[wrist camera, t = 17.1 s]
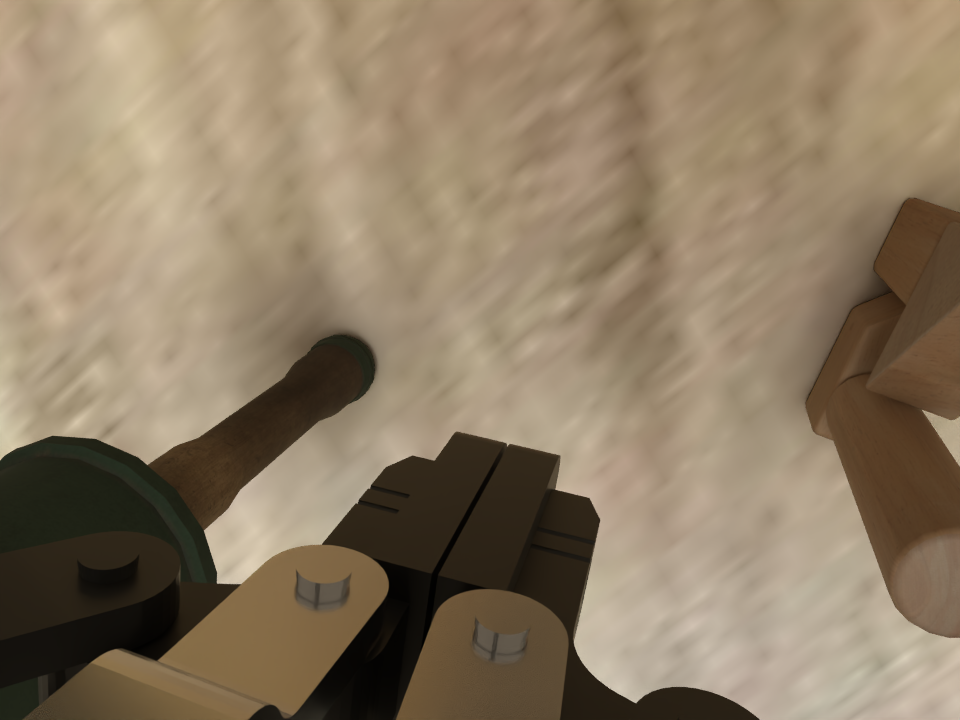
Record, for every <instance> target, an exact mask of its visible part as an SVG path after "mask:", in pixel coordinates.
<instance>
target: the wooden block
mask: <svg viewBox="0 0 960 720" xmlns="http://www.w3.org/2000/svg"><path fill="white" fill-rule="evenodd" d="M874 271H875V272H876V273H877V274H878V275H879V276H880V277H881V278H882V279H883V280H884V282H885V283H886V284H887V285H888V286H889V287H890V288H891V289H892V290H893V291H894V292H891V293H889V294H886V295H883V296H881V297H878V298H876V299H873V300H871V301H868V302H866V303H863V304H861V305H858V306H856V307H855V308H854V309H853V310H852V311H851V313H850V315H849V317H848V319H847V321H846V323H845V325H844V327H843V329H842V331H841V333H840V335H839V337H838V339H837V341H836V343H835V345H834V347H833V349H832V351H831V353H830V355H829V357H828V359H827V361H826V363H825V365H824V367H823V369H822V371H821V373H820V375H819V377H818V379H817V382H816V384H815V386H814V388H813V390H812V392H811V394H810V396H809V398H808V400H807V402H806V410H807V413H808V417H809V420H810V423H811V426H812V429H813V431H814V432H815V433H816V434H817V435H820V436H823V437H825V438H828V439H831V440H833V441H834V443H835V446H836V448H837V451H838V454H839V457H840V459H841V462H842V465H843V468H844V471H845V473H846V476H847V479H848V482H849V484H850V487H851V490H852V493H853V495H854V498H855V501H856V504H857V506H858V509H859V512H860V515H861V517H862V520H863V523H864V526H865V529H866V531H867V534H868V537H869V540H870V542H871V545H872V548H873V551H874V553H875V556H876V559H877V562H878V564H879V567H880V570H881V573H882V575H883V578H884V581H885V584H886V587H887V589H888V592H889V594H890V596H891V599H892V601H893V603H894V605H895V607H896V608H897V610H898V611H899V612H900V613H901V614H902V615H903V616H904V617H905V618H906V619H907V620H908V621H910V622H911V623H913V624H915V625H916V626H918V627H920V628H922V629H923V630H925V631H927V632H929V633H932V634H936V635H940V636H944V637H948V638H960V467H959V465H958V464H957V462H956V461H955V459H954V458H953V456H952V455H951V453H950V452H949V450H948V449H947V447H946V446H945V444H944V443H943V441H942V440H941V438H940V437H939V435H938V434H937V432H936V431H935V429H934V428H933V426H932V425H931V423H930V422H929V420H928V419H927V417H926V416H925V414H924V413H923V411H922V410H925V411H927V412H930V413H933V414H936V415H938V416H941V417H944V418H947V419H949V420H954V419H956V418H958V417H959V416H960V213H958V212H955V211H952V210H949V209H946V208H943V207H940V206H937V205H934V204H931V203H928V202H925V201H922V200H919V199H916V198H913V199H908V200H907V201H906V202H905V203H904V204H903V207H902V209H901V211H900V213H899V215H898V217H897V219H896V221H895V223H894V225H893V227H892V229H891V231H890V233H889V235H888V237H887V239H886V241H885V243H884V245H883V247H882V249H881V251H880V253H879V255H878V257H877V259H876V261H875V263H874ZM921 409H922V410H921Z"/></svg>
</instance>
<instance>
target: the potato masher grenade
mask: <svg viewBox="0 0 960 720" xmlns="http://www.w3.org/2000/svg"><path fill="white" fill-rule="evenodd" d="M374 366H375V365H374V361H373V356H372V354H371V353H370V351H369V349H368V348H367V346H365V345H364V344H363V343H362V342H361V341H359V340H358V339H355V338H353V337H350V336H346V335H333V336H330V337H327V338H324V339H322V340H320V341H319V342H317V343H316V344H315V345H314V346H313V347H312V348H311V350H310V351H309V352H308V353H307V355H305V356H304V357H302V358H301V359H300V360H298V361H297V362H296V363H295V364H294V365H293V366H292V367H291V369H290V370H289V372H288V373H287V374H286V376H285V377H284V378H283V379H282V380H281V381H279V382H278V383H276V384H275V385H273V386H272V387H271V388H269V389H268V390H266V391H265V392H263V393H262V394H261V395H259V396H258V397H256V398H255V399H253V400H252V401H251V402H249V403H248V404H246V405H245V406H243V407H242V408H241V409H239V410H238V411H236V412H235V413H233V414H232V415H231V416H229V417H228V418H226V419H225V420H223V421H222V422H221V423H219V424H218V425H216V426H215V427H213V428H212V429H211V430H209V431H208V432H206V433H205V434H203V435H202V436H201V437H199V438H197V439H194V440H191V441H188V442H185V443H182V444H180V445H177V446H175V447H173V448H172V449H170V450H169V451H168V452H166V453H165V454H163V455H162V456H160V457H159V458H157V459H156V460H154V461H153V462H151V463H150V464H149V465H146V464H145V463H144V462H143V461H142V460H140V459H139V458H138V457H136V456H133V455H131V454H129V453H127V452H124V451H122V450H120V449H117V448H115V447H113V446H110V445H108V444H106V443H104V442H101V441H99V440H97V439H89V438H75V437H62V436H51V437H48V438H45V439H42V440H40V441H37V442H34V443H32V444H29V445H26V446H23V447H20V448H17V449H15V450H13V451H12V452H10V453H8V454H7V455H5V456H4V457H3V458H2V459H1V460H0V554H1V553H6V552H11V551H15V550H20V549H24V548H29V547H34V546H38V545H43V544H48V543H52V542H57V541H61V540H66V539H71V538H75V537H80V536H84V535H89V534H95V533H101V532H111V531H128V532H138V533H143V534H148V535H151V536H154V537H157V538H159V539H161V540H163V541H165V542H167V543H168V544H170V545H171V546H172V547H173V548H174V549H175V550H176V551H177V553H178V555H179V557H180V563H181V566H180V582H197V583H215V584H217V571H216V568H215V565H214V562H213V559H212V555H211V552H210V549H209V546H208V543H207V540H206V536H205V533H204V530H205V529H206V528H207V527H208V526H209V525H210V524H212V523H213V522H214V521H215V520H216V519H217V518H218V517H219V516H221V515H222V514H223V513H224V512H225V511H226V510H227V509H228V508H229V506H230V505H231V503H232V502H233V500H234V498H235V497H236V495H237V494H238V492H239V491H240V489H242V488H243V487H244V486H245V485H246V484H247V483H248V482H250V481H251V480H252V479H253V478H254V477H255V476H256V475H258V474H259V473H260V472H261V471H262V470H263V469H264V468H266V467H267V466H268V465H269V464H270V463H271V462H272V461H274V460H275V459H276V458H277V457H278V456H279V455H280V454H282V453H283V452H284V451H285V450H286V449H287V448H288V447H290V446H291V445H292V444H293V443H294V442H295V441H296V440H298V439H299V438H300V437H301V436H302V435H303V434H304V433H306V432H307V431H308V430H309V429H310V428H311V427H313V426H314V425H315V424H316V423H317V422H318V421H320V420H323V419H325V418H328V417H331V416H333V415H335V414H336V413H338V412H339V411H340V410H342V409H343V408H344V407H345V406H346V405H347V404H349V403H352V402H353V401H356V400H358V399H359V398H360V397H362V396H363V395H364V394H365V393H366V392H367V391H368V389H369V388H370V386H371V384H372V382H373V380H374V371H375V368H374ZM38 706H39V695H38V677H37V678H34V679H30V680H27V681H24V682H20V683H17V684H14V685H11V686H7V687H4V688H1V689H0V720H22V719H23V718H25V717H26V716H27V715H28V714H29V713H31V712H32V711H33V710H34V709H35V708H37V707H38Z"/></svg>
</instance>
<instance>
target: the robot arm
mask: <svg viewBox="0 0 960 720" xmlns="http://www.w3.org/2000/svg"><path fill="white" fill-rule="evenodd" d="M559 466H560V455H556V454H551V453H547V452H543V451H538V450H534V449H530V448H526V447H521V446H517V445H513V444H509V445H508V447H507V444H506V443H504V442H499V441H495V440H491V439H486V438H482V437H478V436H474V435H469V434H465V433H461V432H455V433H454V435H453V436H452V437H451V439H450V440H449V442H448V443H447V444H446V446H445V447H444V448H443V450H442V451H441V453H440V454H439V455H438V457H437V458H436V460H435V461H433V460H429V459H425V458H420V457H416V456H410V457H408V458H406V459H404V460H401V461H399V462H397V463H395V464H392V465H390V466H388V467H386V468H385V469H384V470H383V471H382V473H381V474H380V475H379V476H378V477H377V479H376V480H375V481H374V482H373V483H372V485H371V488H370V489H367V491H366V492H365V493H364V494H363V495H362V497H361V498H360V499H359V502H358V504H355V505H354V506H353V507H352V509H351V510H350V511H349V512H348V513H347V515H346V516H345V517H344V518H343V520H342V521H341V522H340V523H339V524H338V526H337V527H336V528H335V529H334V530H333V532H332V533H331V534H330V535H329V536H328V538H327V539H326V540H325V541H324V542H323V544H322V545H308V546H301V547H296V548H292V549H289V550H286V551H283V552H281V553H279V554H277V555H275V556H273V557H272V558H270V559H269V560H268V561H266V562H265V563H264V564H263V565H262V566H261V567H260V568H259V569H258V570H256V571H255V572H254V573H253V574H252V575H251V576H250V577H249V578H248V579H247V580H246V581H244V582H243V583H242V584H215V583H197V582H180V566H181V563H180V557H179V555H178V553H177V551H176V550H175V549H174V548H173V547H172V546H171V545H170V544H168V543H167V542H165V541H163V540H161V539H159V538H157V537H154V536H151V535H148V534H143V533H138V532H128V531H111V532H101V533H95V534H89V535H84V536H80V537H75V538H71V539H66V540H61V541H57V542H52V543H48V544H43V545H38V546H34V547H29V548H24V549H20V550H15V551H11V552H6V553H1V554H0V689H1V688H4V687H7V686H11V685H14V684H17V683H20V682H24V681H27V680H30V679H34V678H37V677H38V695H39V706H38V707H37V708H35V709H34V710H33V711H32V712H31V713H29V714H28V715H27V716H26V717H25V718H23V719H22V720H759V719H758V718H757V717H756V716H755V715H753V714H752V713H751V712H749V711H748V710H747V709H745V708H744V707H742V706H740V705H739V704H737V703H735V702H733V701H731V700H729V699H727V698H725V697H723V696H720V695H717V694H714V693H712V692H709V691H704V690H700V689H696V688H688V687H670V688H663V689H659V690H656V691H653V692H651V693H649V694H647V695H645V696H644V697H642V698H641V699H640V700H639V701H638V702H637V703H634V702H632V701H630V700H628V699H627V698H625V697H623V696H621V695H619V694H618V693H616V692H614V691H613V690H611V689H609V688H608V687H607V686H605V685H604V684H603V683H601V682H600V681H599V680H597V679H596V678H595V677H594V676H593V675H592V674H591V673H590V672H589V671H588V669H587V668H586V667H585V666H584V664H583V663H582V662H581V660H580V658H579V656H578V655H577V652H576V649H575V647H574V638H575V634H576V630H577V626H578V621H579V617H580V613H581V608H582V603H583V599H584V594H585V589H586V585H587V580H588V575H589V570H590V566H591V561H592V556H593V552H594V547H595V542H596V537H597V533H598V528H599V523H600V519H599V517H598V515H597V513H596V511H595V509H594V507H593V505H592V502H591V500H590V498H587V497H583V496H578V495H574V494H570V493H566V492H562V491H558V490H555V488H556V483H557V477H558V472H559Z"/></svg>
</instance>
